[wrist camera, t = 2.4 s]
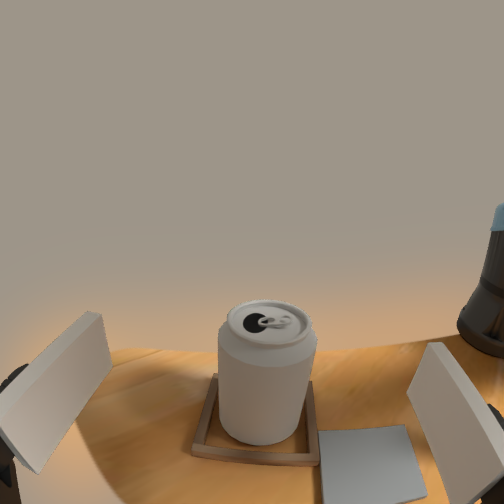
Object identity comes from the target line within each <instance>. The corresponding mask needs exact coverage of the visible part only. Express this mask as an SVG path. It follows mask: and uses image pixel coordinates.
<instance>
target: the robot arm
mask: <svg viewBox="0 0 504 504" xmlns="http://www.w3.org/2000/svg"><path fill="white" fill-rule="evenodd" d="M491 231H492V232H491V237H490V242H489V247H488V250H487V255H486V259H485V263H484V266H483V270H482V274H481V277H480V281H479V284H478V286H477V288H476V290H475V291H474V292H473V294H472V296H471V297H470V299H469V301H468V303H467V305H465V306H464V307H463V309H462V310H461V312H460V315H459V318H458V320H457V329H458V331H459V333H460V334H461V335H462V337H463V338H464V339H465V340H466V341H467V342H469V343H470V344H471V345H472V346H474V347H476V348H477V349H479V350H481V351H483V352H485V353H487V354H490V355H493V356H497V357H503V358H504V203H501V204H500V205H498V206H497V208H496V211H495V216H494V220H493V225H492V227H491ZM112 367H113V364H112V360H111V356H110V352H109V348H108V343H107V339H106V334H105V329H104V324H103V319H102V314H98V313H94V312H89V311H87V312H85V313H84V314H83V315H82V316H81V317H80V318H79V319H78V320H76V321H75V322H74V323H73V324H72V325H71V326H70V327H69V328H68V329H67V330H65V331H64V332H63V333H62V334H61V335H60V336H59V337H58V338H57V339H56V340H55V341H53V342H52V343H51V344H50V345H49V346H48V347H47V348H46V349H45V350H44V351H43V352H42V353H41V354H40V355H39V356H38V357H36V358H35V359H34V360H33V361H32V362H31V363H30V364H25V365H23V366H21V367H19V368H17V369H16V370H15V371H14V372H12V373H11V374H10V375H9V377H8V379H5V380H4V381H3V383H2V384H1V386H0V504H21V499H20V494H19V488H18V482H17V476H16V468H15V464H14V462H13V460H12V459H13V458H14V456H16V457H17V459H18V460H19V461H20V462H21V463H22V465H23V466H25V467H27V468H28V469H30V470H31V471H33V472H34V473H36V474H38V475H39V473H40V472H41V470H42V469H43V467H44V466H45V464H46V462H47V461H48V459H49V458H50V456H51V455H52V453H53V452H54V450H55V449H56V447H57V446H58V444H59V443H60V441H61V440H62V438H63V437H64V435H65V434H66V432H67V431H68V429H69V428H70V426H71V425H72V424H73V422H74V421H75V419H76V418H77V416H78V415H79V413H80V412H81V411H82V409H83V408H84V406H85V405H86V403H87V402H88V401H89V399H90V398H91V396H92V395H93V394H94V392H95V391H96V389H97V388H98V387H99V385H100V384H101V382H102V381H103V380H104V378H105V377H106V376H107V374H108V373H109V371H110V370H111V369H112ZM406 393H407V395H408V398H409V400H410V402H411V404H412V406H413V409H414V411H415V413H416V416H417V418H418V420H419V422H420V425H421V427H422V430H423V432H424V434H425V437H426V439H427V442H428V444H429V447H430V449H431V452H432V454H433V457H434V459H435V462H436V465H437V467H438V470H439V473H440V476H441V478H442V481H443V484H444V487H445V490H446V493H447V496H448V499H449V502H450V504H474V503H475V502H476V501H477V500H479V499H480V498H481V501H482V503H481V504H504V419H503V417H502V416H501V414H500V413H499V411H498V410H497V409H495V408H494V407H493V406H492V405H491V404H486V402H485V401H484V399H483V398H482V396H481V395H480V393H479V392H478V390H477V389H476V387H475V386H474V384H473V383H472V382H471V380H470V379H469V377H468V376H467V375H466V373H465V372H464V370H463V369H462V368H461V366H460V365H459V363H458V362H457V361H456V359H455V358H454V357H453V355H452V354H451V353H450V351H449V350H448V349H447V347H446V346H445V345H444V343H443V342H430V343H428V344H427V347H426V349H425V352H424V354H423V356H422V359H421V361H420V364H419V366H418V368H417V371H416V373H415V375H414V377H413V379H412V382H411V384H410V386H409V388H408V390H407V392H406Z"/></svg>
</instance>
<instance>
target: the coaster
mask: <svg viewBox="0 0 504 504" xmlns="http://www.w3.org/2000/svg"><path fill="white" fill-rule="evenodd" d="M317 434H318V445H319V456H320V461H319V464H320V478H321V492H322V504H404V503H408V502H412V501H416V500H419V499H423V498H425V497H426V496H428V493H427V490H426V487H425V483H424V480H423V477H422V474H421V471H420V468H419V465H418V462H417V459H416V456H415V453H414V450H413V447H412V444H411V441H410V438H409V436H408V433H407V430H406V427H405V425H396V426H388V427H378V428H367V429H353V430H326V431H318V433H317Z"/></svg>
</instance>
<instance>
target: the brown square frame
mask: <svg viewBox="0 0 504 504" xmlns="http://www.w3.org/2000/svg"><path fill="white" fill-rule="evenodd" d="M218 391H219V385H218V374H217V373H214V374H213V377H212V381H211V384H210V387H209V391H208V394H207V397H206V401H205V404H204V407H203V411H202V414H201V418H200V421H199V424H198V428H197V431H196V435H195V438H194V441H193V445H192V448H191V453H192V456H196V457H202V458H208V459H214V460H221V461H229V462H237V463H247V464H259V465H275V466H318V464H319V461H320V456H319V445H318V434H317V424H316V414H315V405H314V395H313V387H312V381H309V383H308V387H307V391H306V395H305V399H304V406H305V420H306V436H307V453H272V452H257V451H246V450H236V449H228V448H220V447H213V446H207V445H205V441H206V437H207V433H208V429H209V425H210V422H211V418H212V414H213V410H214V406H215V402H216V398H217V394H218Z"/></svg>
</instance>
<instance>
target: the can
mask: <svg viewBox="0 0 504 504" xmlns="http://www.w3.org/2000/svg"><path fill="white" fill-rule="evenodd" d="M311 327H312V321H311V319H310V317H309V315H308V314H307V313H305V312H304V311H303V310H302V309H300V308H298V307H297V306H295V305H292V304H289V303H286V302H282V301H276V300H253V301H248V302H244V303H241V304H239V305H237V306H236V307H234V308H232V309H231V310H230V312H229V313H228V314H227V321H226V322H225V323H224V324H223V325H222V326H221V328H220V329H219V333H218V385H219V419H220V421H221V424H222V427H223V428H224V429H225V431H226V432H227V433H228V434H229V435H230V436H232V437H233V438H235V439H237V440H239V441H240V442H243V443H247V444H251V445H271V444H275V443H278V442H281V441H283V440H285V439H286V438H288V437H289V436H291V435H292V434H293V432H294V431H295V430H296V428H297V426H298V423H299V419H300V415H301V411H302V407H303V403H304V399H305V395H306V391H307V387H308V383H309V379H310V374H311V370H312V365H313V361H314V356H315V351H316V346H317V337H316V335H315V332H314V331H313V329H312V328H311Z"/></svg>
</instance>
